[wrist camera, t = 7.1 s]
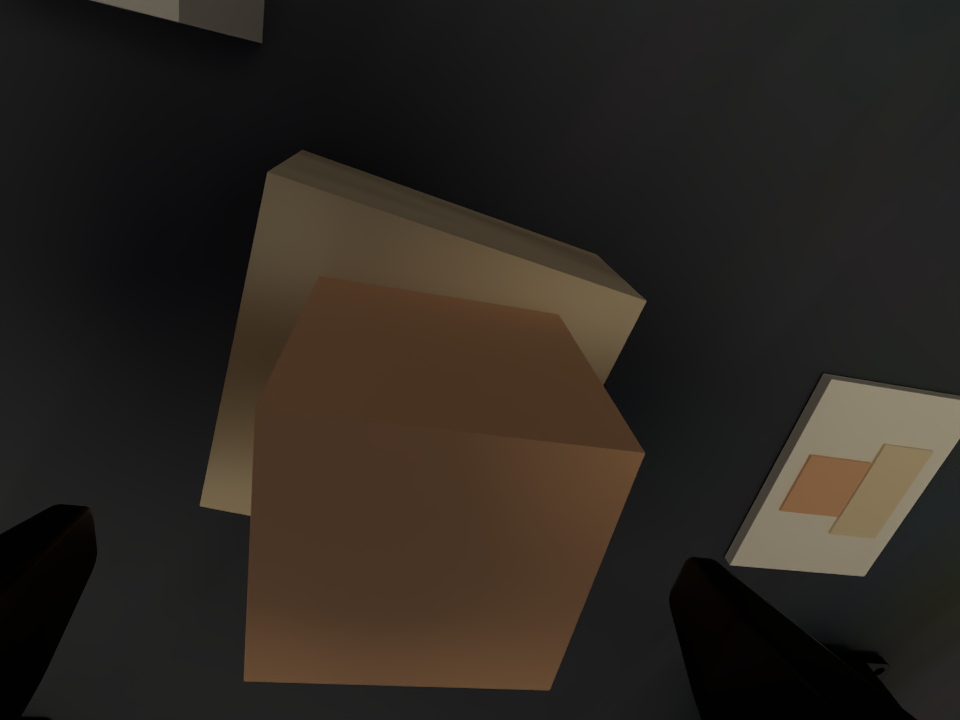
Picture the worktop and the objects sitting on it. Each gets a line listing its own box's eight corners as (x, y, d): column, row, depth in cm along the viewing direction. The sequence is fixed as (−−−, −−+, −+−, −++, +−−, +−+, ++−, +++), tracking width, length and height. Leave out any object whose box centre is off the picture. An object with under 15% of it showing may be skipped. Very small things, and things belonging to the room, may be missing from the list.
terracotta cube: (506, 497, 14) (549, 689, 10) (301, 477, 13) (243, 681, 9) (558, 314, 12) (644, 453, 7) (319, 276, 11) (255, 407, 7)
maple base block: (491, 472, 19) (510, 564, 15) (244, 415, 17) (199, 506, 13) (592, 251, 16) (646, 300, 12) (304, 148, 14) (267, 171, 10)
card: (856, 568, 22) (866, 578, 22) (724, 557, 21) (731, 567, 21) (972, 398, 19) (986, 405, 19) (823, 373, 18) (833, 380, 17)
